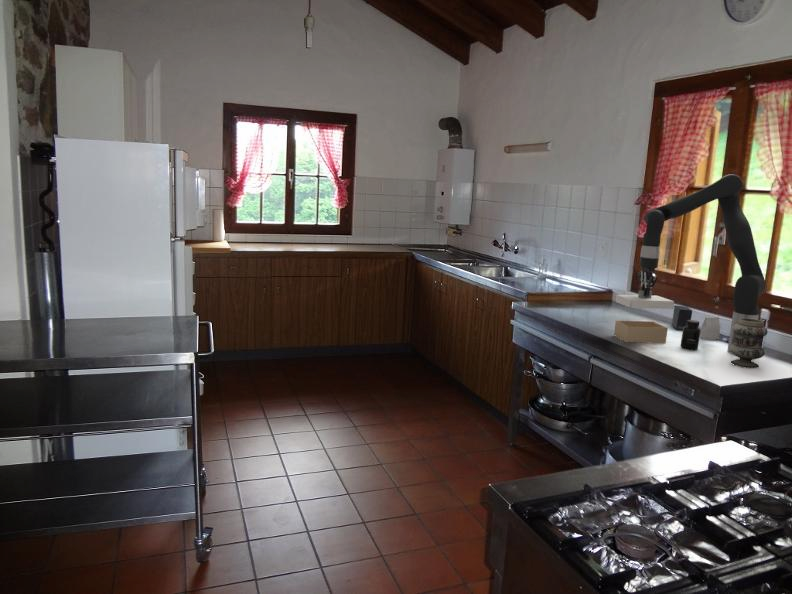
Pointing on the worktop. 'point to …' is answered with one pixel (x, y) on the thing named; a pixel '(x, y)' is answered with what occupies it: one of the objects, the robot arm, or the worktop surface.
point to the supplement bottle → (690, 335)
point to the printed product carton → (710, 328)
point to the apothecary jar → (748, 342)
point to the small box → (681, 317)
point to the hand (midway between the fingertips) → (644, 295)
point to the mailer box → (641, 331)
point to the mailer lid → (644, 301)
